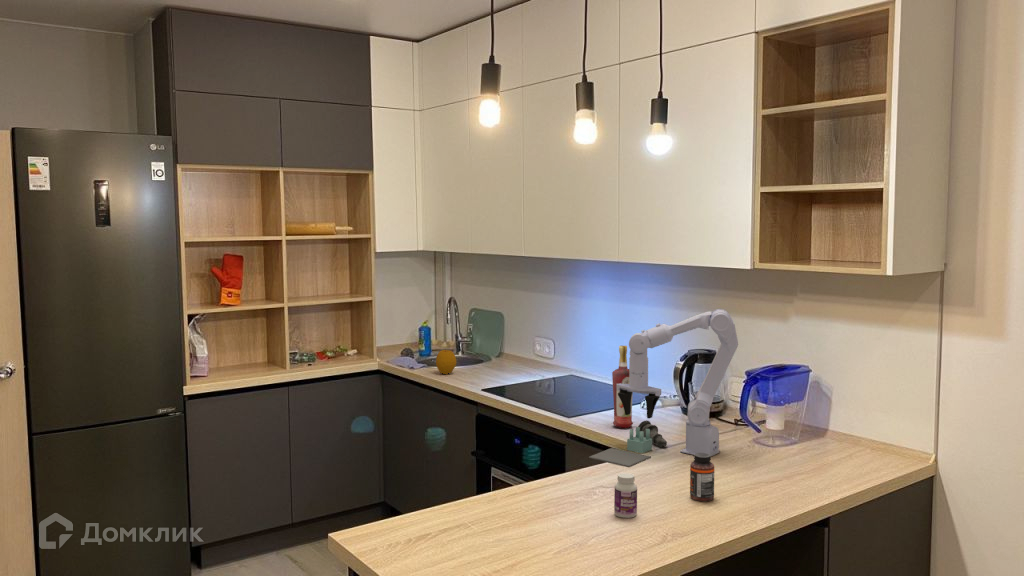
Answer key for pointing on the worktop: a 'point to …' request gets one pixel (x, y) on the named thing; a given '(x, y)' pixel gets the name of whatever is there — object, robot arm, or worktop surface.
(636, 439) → the stool
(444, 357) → the orange rounded oval
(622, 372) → the liquor
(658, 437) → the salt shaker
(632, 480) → the pill bottle
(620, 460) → the mat
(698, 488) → the supplement bottle
